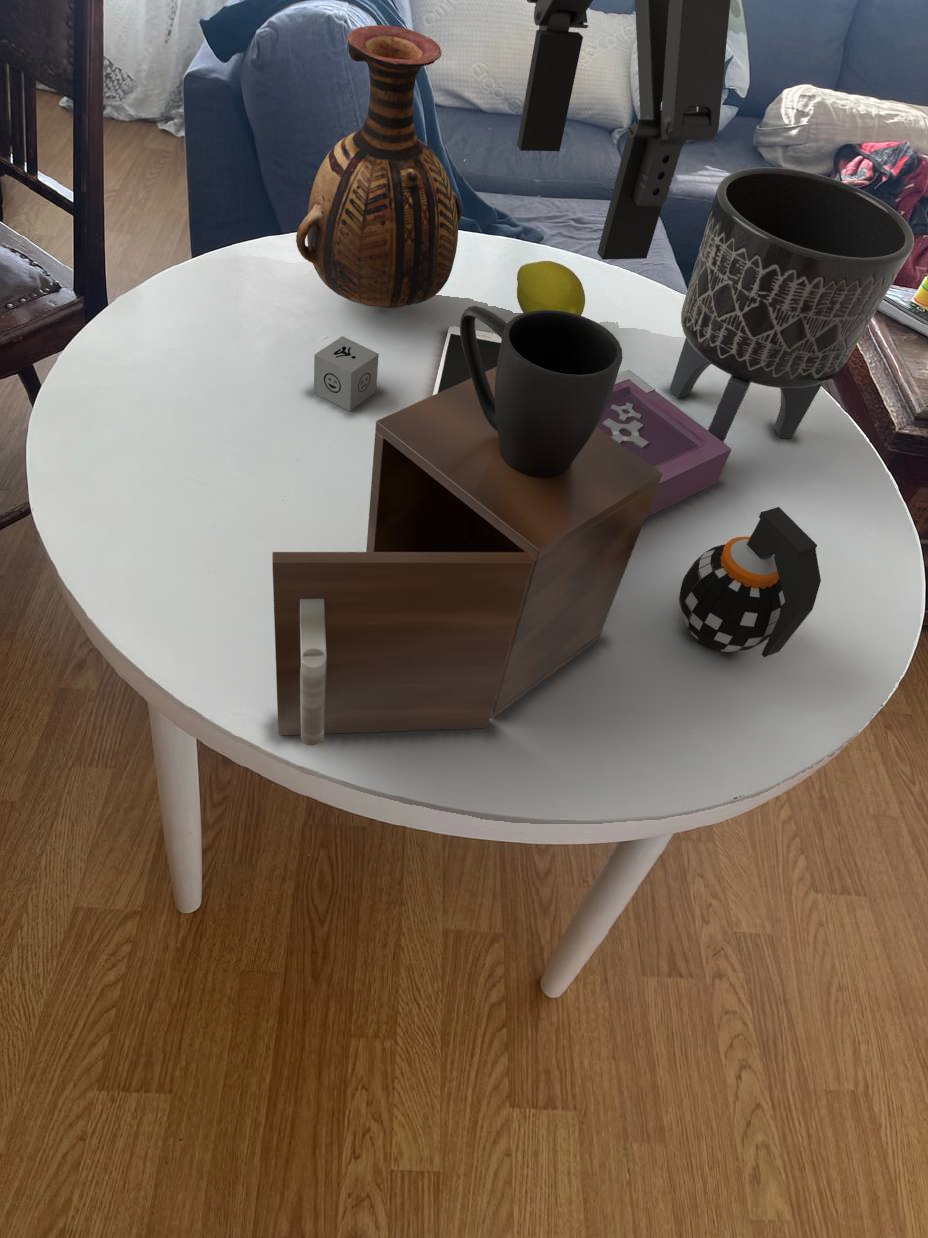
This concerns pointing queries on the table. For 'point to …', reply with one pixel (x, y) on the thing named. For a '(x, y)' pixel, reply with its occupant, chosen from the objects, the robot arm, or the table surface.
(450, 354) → the cell phone
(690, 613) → the grenade
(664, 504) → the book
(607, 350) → the mug
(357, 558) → the cupboard door
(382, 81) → the vase
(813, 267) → the planter
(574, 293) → the lemon
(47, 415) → the table surface
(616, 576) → the cupboard
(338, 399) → the dice cube
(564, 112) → the robot arm
